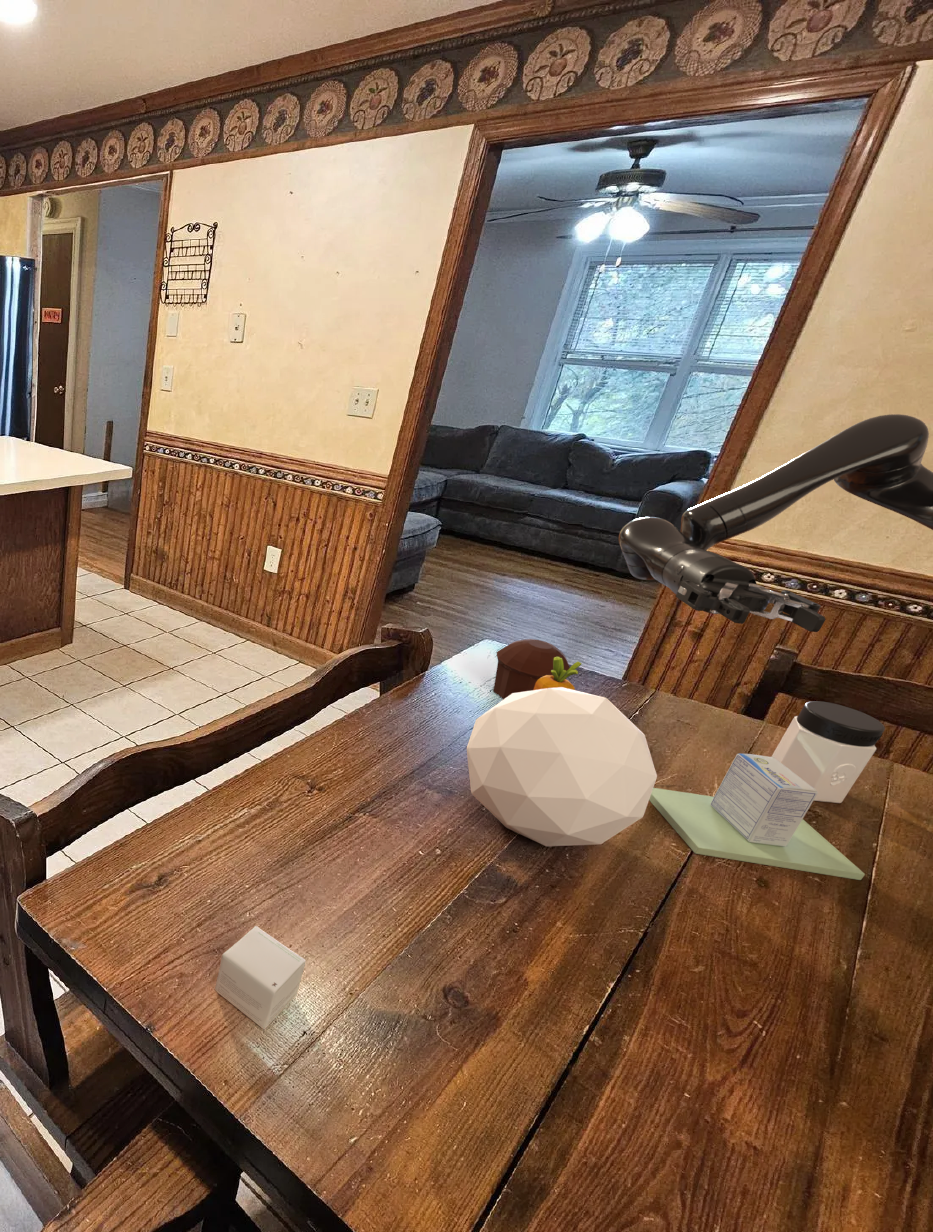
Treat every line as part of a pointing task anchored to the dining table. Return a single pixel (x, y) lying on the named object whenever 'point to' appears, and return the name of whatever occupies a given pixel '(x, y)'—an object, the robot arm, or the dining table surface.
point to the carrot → (557, 676)
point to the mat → (722, 840)
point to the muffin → (524, 665)
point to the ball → (560, 766)
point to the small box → (259, 976)
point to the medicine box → (763, 799)
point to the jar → (829, 747)
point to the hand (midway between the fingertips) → (781, 621)
